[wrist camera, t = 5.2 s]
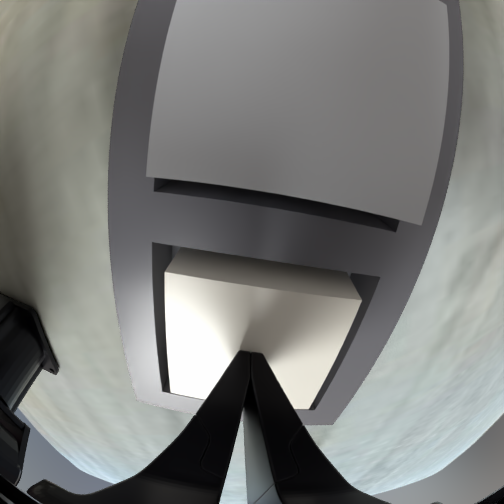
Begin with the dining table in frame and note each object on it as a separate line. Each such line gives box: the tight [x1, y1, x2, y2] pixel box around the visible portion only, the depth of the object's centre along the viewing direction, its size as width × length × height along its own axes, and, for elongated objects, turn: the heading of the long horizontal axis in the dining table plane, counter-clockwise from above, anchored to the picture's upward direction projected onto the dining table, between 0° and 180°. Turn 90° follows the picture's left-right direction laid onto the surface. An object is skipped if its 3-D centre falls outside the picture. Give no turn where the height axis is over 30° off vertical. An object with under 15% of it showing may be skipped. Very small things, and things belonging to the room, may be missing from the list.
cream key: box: [165, 247, 362, 409], centre depth 10 cm, size 6×6×2 cm
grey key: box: [146, 0, 449, 225], centre depth 5 cm, size 6×6×2 cm
